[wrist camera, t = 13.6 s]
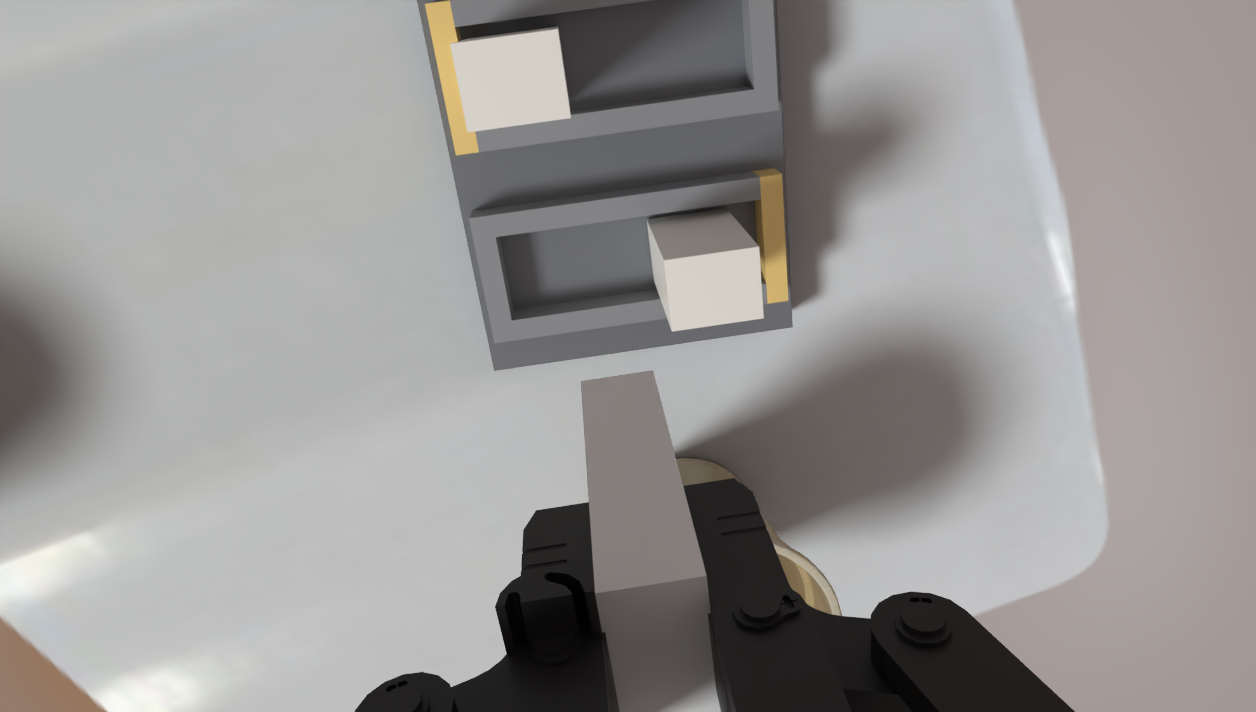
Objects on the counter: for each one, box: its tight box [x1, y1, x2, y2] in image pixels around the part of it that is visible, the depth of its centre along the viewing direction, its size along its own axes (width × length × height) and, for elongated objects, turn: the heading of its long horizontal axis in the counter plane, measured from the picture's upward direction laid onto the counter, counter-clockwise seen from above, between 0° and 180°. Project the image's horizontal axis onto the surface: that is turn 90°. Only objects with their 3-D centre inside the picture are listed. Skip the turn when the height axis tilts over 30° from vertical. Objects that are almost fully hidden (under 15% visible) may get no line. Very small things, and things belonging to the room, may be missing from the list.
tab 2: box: [647, 208, 764, 332], centre depth 28 cm, size 2×3×6 cm
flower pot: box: [676, 458, 842, 616], centre depth 34 cm, size 9×9×9 cm
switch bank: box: [417, 0, 792, 371], centre depth 28 cm, size 22×12×3 cm, turn 7°
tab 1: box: [450, 26, 571, 133], centre depth 26 cm, size 2×3×6 cm
